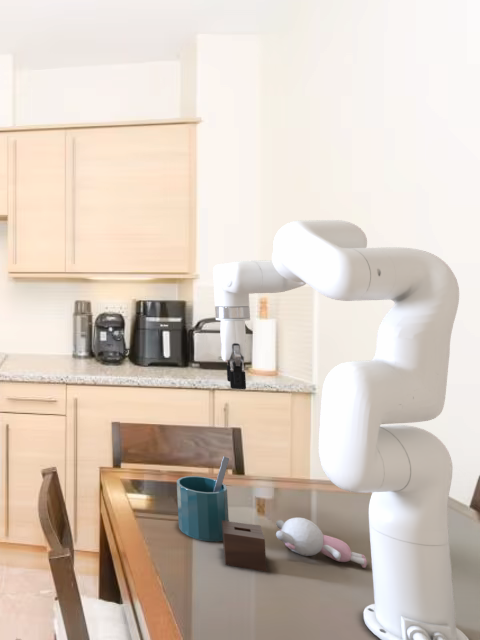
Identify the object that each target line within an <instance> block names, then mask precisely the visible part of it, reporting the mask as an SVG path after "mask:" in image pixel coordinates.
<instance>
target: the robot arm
mask: <svg viewBox="0 0 480 640" xmlns="http://www.w3.org/2000/svg"><path fill="white" fill-rule="evenodd" d="M272 249H273V250H272V254H271V260H237V261H232V262H229V263H218V264H216V265H215V266H214V267H213V269H212V276H213V294H214V295H213V296H214V314H215V315H214V316H215V321H220V323H219V325H220V326H219V332H220V335H219V336H220V357H221V359H222V361H223V362H225V363H226V379H227V382H229V385H230V386H229V387H230V389H232V390H246V389H247V379H246V371H245V365H244V363H245V362H246V361H247V334H246V332H247V331H246V322H247V321H251V309H250V308H251V307H250V294H278V293H284V292H288V291H291V290H294V289H297V288H301V287H304V286H305V285H308V286H309V287H310V288H312V289H313V290H315V291H316V292H318V293H319V294H320V295H322V296H324V297H327V298H329V299H331V300H335V301H343V302H355V301H357V302H359V301H361V302H362V301H384V300H385V301H388V300H389V301H390V300H391V301H393V302H394V303H393V306H392V307H391V308H390V309H389V310H388V312H386V314H385V315H384V317H383V319H382V320H381V322H380V325H379V326H378V329H377V334H376V348H375V354H374V356H373V357H372V359H370V360H353V361H351V360H350V361H346V362H341V363H339V364H338V365H336V366H334V367H333V368H332V369H331V370H330V371H329V372H328V373H327V375H326V377H325V379H324V381H323V384H322V390H321V402H320V413H319V414H320V415H319V416H320V417H319V431H318V456H319V462H320V465H321V468H322V470H323V472H324V473H325V476H326V478H327V479H329V481H330V482H331V483H332V484H333V485H334V486H336V487H337V488H339V489H340V490H343V491H346V492H350V493H355V494H370V493H371V496H370V499H369V503H368V528H369V529H368V530H369V541H370V543H369V544H370V556H371V569H372V570H371V572H372V582H373V583H372V585H373V599H374V603H371V604H369V605H367V606H365V608H364V610H363V612H362V614H363V621H364V624H365V625H366V627H367V629H369V631H371V633H373V635H375V636H376V637H377V638H379V639H380V640H470V639H469V637H468V636H467V635H466V634H465V633H464V632H463V631H462V630H460V629H459V628H458V627H457V624H456V623H457V622H456V611H455V609H456V608H455V598H454V597H455V596H454V584H453V575H452V562H451V548H450V547H451V546H450V529H449V497H450V491H451V485H452V481H453V480H452V479H453V470H454V469H453V460H452V457H451V454H450V451H449V450H448V448H447V447H446V445H445V443H443V441H441V439H439V437H437V436H436V435H435V434H433V433H432V432H430V431H428V430H426V429H424V428H421V427H418V426H414V425H408V424H411V423H421V422H422V423H423V422H428V421H432V420H435V419H436V418H438V417H439V416H440V415H441V414H442V412H443V410H444V406H445V403H446V396H447V386H448V375H449V374H448V373H449V363H450V354H451V353H450V352H451V351H450V349H451V338H452V333H453V328H454V323H455V320H456V316H457V313H458V308H459V303H460V287H459V283H458V280H457V276H456V275H455V273H454V272H453V270H452V268H451V267H450V266H449V265H448V264H447V263H446V262H445V261H444V260H443V259H442V258H441V257H439V256H437V255H435V254H434V253H432V252H430V251H429V252H428V251H427V250H424V249H423V250H422V249H418V248H412V247H400V246H399V247H397V246H385V247H382V246H381V247H379V246H377V247H368V239H367V235H366V233H365V232H364V231H363V230H362V228H361V227H359V226H358V225H357V224H355V223H352V222H350V221H346V220H342V219H341V220H339V219H321V220H320V219H319V220H318V219H316V220H315V219H313V220H312V219H309V220H306V219H305V220H303V219H301V220H294V221H291V222H287V223H286V224H284V225H283V226H282V227H280V228H279V229H278V231H277V232H276V234H275V235H274V238H273V243H272Z"/></svg>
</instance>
